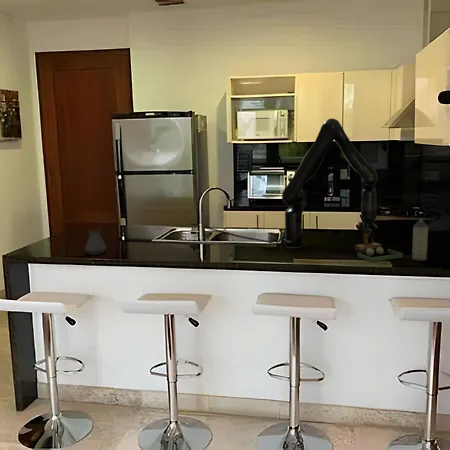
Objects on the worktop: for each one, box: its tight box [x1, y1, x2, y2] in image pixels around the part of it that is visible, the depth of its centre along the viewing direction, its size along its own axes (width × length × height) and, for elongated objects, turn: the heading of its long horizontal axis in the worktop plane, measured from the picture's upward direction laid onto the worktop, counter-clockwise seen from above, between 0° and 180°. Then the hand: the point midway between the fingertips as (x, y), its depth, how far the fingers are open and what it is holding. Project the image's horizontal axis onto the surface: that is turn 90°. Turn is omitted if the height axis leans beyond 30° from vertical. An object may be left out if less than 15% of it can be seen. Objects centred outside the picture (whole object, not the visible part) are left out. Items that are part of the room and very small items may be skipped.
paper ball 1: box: [365, 248, 375, 257], centre depth 270 cm, size 4×4×4 cm
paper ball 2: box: [375, 246, 385, 256], centre depth 272 cm, size 4×4×4 cm
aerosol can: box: [411, 218, 429, 262], centre depth 260 cm, size 7×7×20 cm
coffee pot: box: [84, 221, 107, 256], centre depth 294 cm, size 21×12×15 cm, turn 2°
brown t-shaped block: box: [354, 233, 382, 254], centre depth 276 cm, size 5×13×10 cm, turn 112°
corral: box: [356, 248, 404, 262], centre depth 268 cm, size 12×19×2 cm, turn 112°
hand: (368, 242), depth 276 cm, fingers closed on brown t-shaped block, 2 cm apart
